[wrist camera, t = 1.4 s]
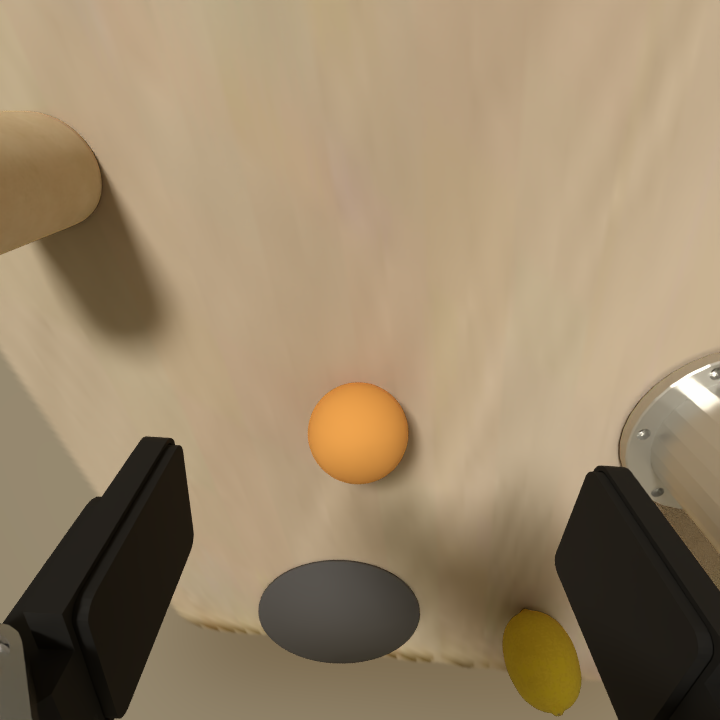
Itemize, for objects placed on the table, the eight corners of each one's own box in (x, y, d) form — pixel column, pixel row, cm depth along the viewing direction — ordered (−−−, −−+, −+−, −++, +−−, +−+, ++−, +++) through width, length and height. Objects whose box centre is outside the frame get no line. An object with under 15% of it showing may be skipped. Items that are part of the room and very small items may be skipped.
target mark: (430, 565, 38) (430, 567, 38) (408, 664, 45) (408, 667, 44) (256, 555, 38) (256, 557, 37) (260, 657, 44) (260, 659, 44)
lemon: (515, 637, 43) (545, 741, 36) (479, 608, 41) (504, 713, 34) (569, 611, 41) (612, 716, 34) (534, 580, 39) (573, 684, 32)
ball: (409, 368, 30) (420, 424, 24) (398, 444, 32) (405, 509, 27) (314, 361, 29) (303, 416, 24) (311, 438, 32) (301, 503, 27)
